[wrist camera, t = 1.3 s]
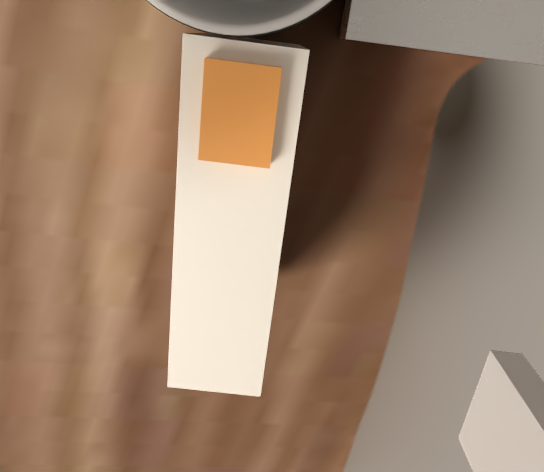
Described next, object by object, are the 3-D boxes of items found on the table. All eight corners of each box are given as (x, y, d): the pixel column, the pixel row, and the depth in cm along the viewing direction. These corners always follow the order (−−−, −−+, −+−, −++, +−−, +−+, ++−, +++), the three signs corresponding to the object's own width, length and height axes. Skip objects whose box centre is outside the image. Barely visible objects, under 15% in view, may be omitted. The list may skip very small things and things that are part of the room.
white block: (201, 278, 29) (164, 396, 20) (219, 33, 24) (179, 33, 14) (266, 285, 29) (259, 406, 20) (298, 44, 24) (310, 50, 14)
